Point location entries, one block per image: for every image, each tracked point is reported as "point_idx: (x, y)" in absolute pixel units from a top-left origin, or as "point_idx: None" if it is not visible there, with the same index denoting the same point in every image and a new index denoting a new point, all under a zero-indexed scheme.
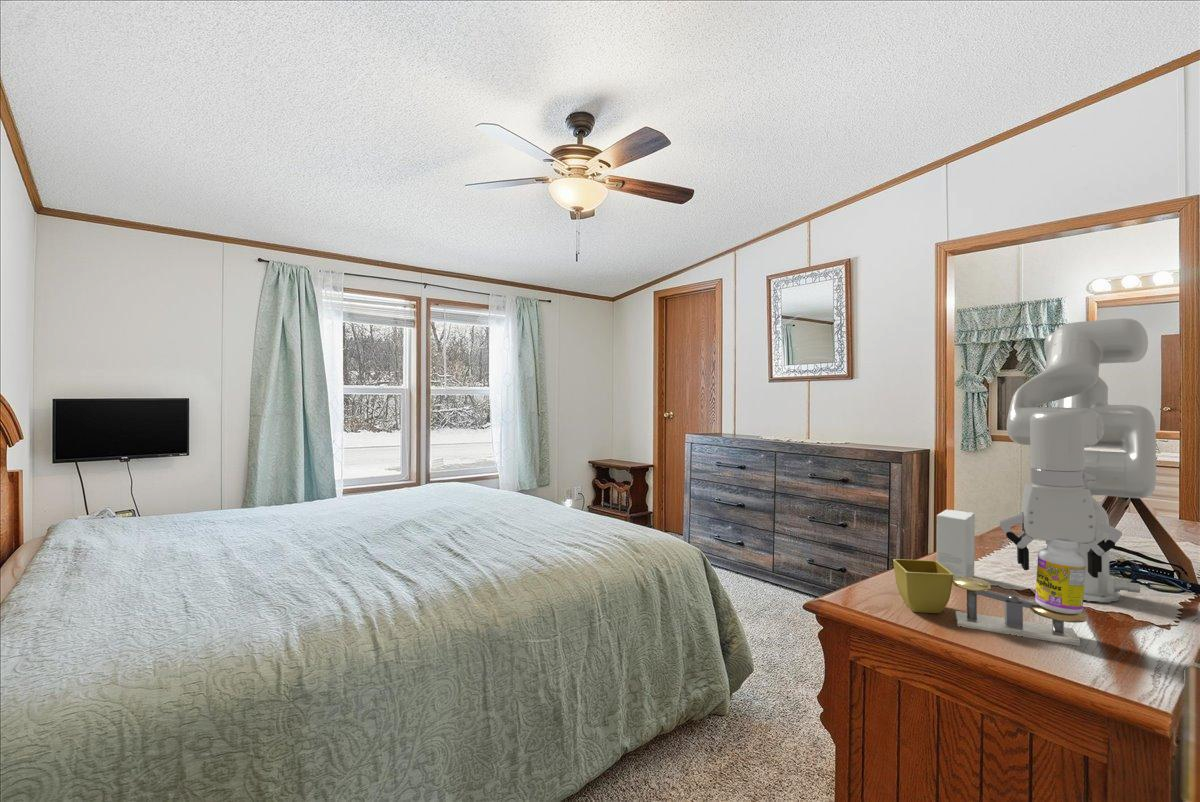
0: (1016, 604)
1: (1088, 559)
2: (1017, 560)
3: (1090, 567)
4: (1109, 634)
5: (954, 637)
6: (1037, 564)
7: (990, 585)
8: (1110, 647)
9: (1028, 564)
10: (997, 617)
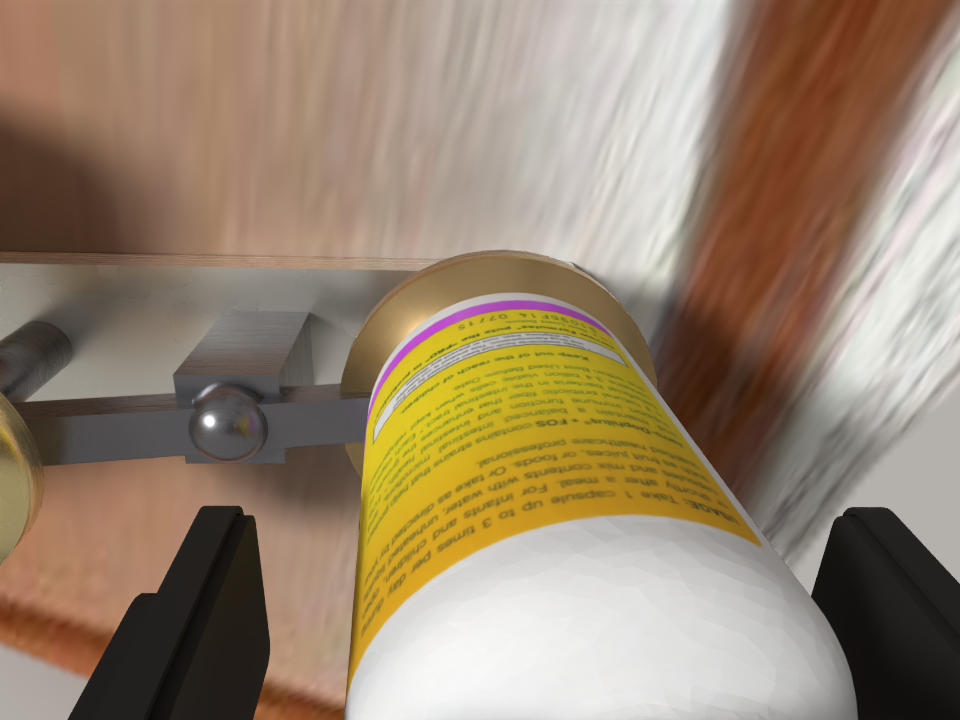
0: (250, 457)
1: (920, 666)
2: (139, 601)
3: (852, 664)
4: (783, 152)
5: (11, 552)
6: (352, 618)
7: (25, 512)
8: (698, 358)
9: (250, 710)
10: (184, 272)
